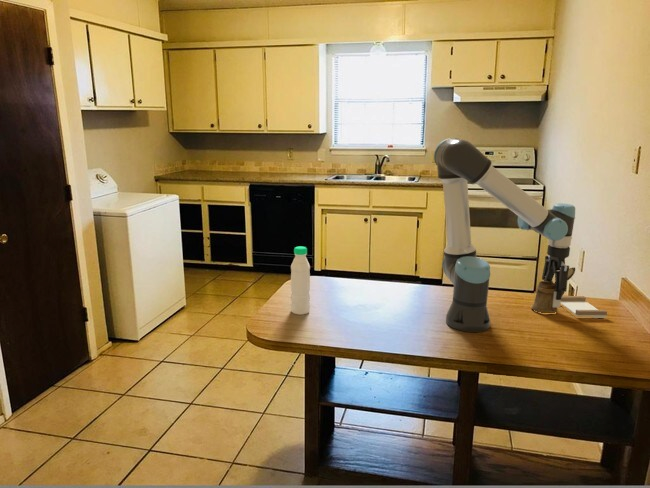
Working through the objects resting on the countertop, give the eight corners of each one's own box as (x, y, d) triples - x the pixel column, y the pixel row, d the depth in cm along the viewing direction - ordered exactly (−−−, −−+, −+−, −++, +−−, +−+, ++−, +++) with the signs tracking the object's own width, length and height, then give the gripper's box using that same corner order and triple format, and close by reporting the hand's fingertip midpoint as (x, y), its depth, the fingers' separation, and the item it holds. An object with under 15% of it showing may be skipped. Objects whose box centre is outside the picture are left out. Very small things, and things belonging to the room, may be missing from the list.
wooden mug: (572, 316, 184) (580, 271, 179) (535, 314, 185) (542, 269, 181) (564, 307, 193) (571, 263, 188) (528, 305, 194) (534, 262, 189)
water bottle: (310, 308, 188) (311, 245, 181) (308, 315, 181) (308, 250, 175) (292, 307, 188) (292, 244, 182) (289, 314, 182) (289, 249, 175)
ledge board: (576, 318, 182) (578, 311, 181) (555, 303, 198) (556, 296, 197) (605, 318, 183) (607, 311, 182) (582, 303, 198) (583, 296, 197)
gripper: (583, 252, 173) (574, 313, 179) (555, 238, 192) (548, 294, 198) (562, 252, 173) (553, 313, 179) (537, 238, 192) (530, 294, 198)
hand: (551, 303), depth 189 cm, fingers closed on wooden mug, 7 cm apart
